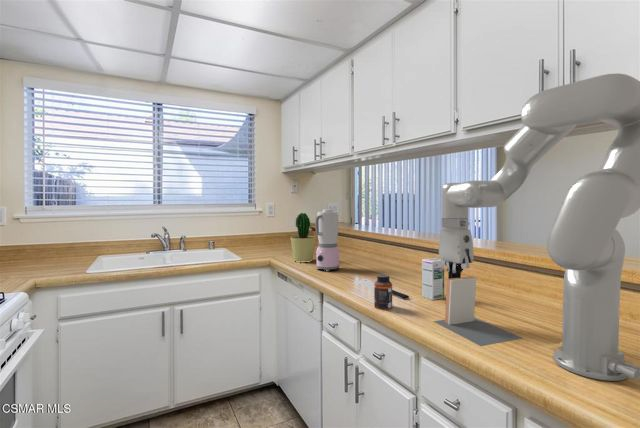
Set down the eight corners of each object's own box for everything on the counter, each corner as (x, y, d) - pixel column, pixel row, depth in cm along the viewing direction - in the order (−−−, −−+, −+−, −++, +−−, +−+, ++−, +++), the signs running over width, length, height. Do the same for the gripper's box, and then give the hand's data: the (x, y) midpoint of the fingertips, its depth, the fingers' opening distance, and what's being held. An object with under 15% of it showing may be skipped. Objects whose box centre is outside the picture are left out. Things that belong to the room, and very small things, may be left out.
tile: (473, 320, 99) (476, 278, 98) (449, 324, 96) (451, 280, 95) (469, 318, 101) (471, 276, 100) (444, 322, 98) (447, 278, 97)
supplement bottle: (395, 310, 111) (395, 276, 110) (378, 312, 109) (378, 277, 109) (387, 305, 116) (387, 273, 116) (371, 306, 115) (371, 274, 115)
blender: (326, 266, 187) (326, 209, 186) (344, 269, 179) (343, 209, 178) (307, 270, 175) (307, 209, 174) (325, 273, 167) (325, 210, 166)
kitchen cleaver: (347, 281, 148) (366, 277, 153) (347, 285, 149) (366, 280, 153) (390, 300, 120) (412, 294, 124) (391, 305, 120) (413, 298, 125)
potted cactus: (317, 259, 210) (316, 211, 209) (314, 263, 195) (314, 212, 194) (293, 258, 212) (292, 211, 211) (288, 263, 196) (288, 212, 195)
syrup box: (432, 300, 122) (433, 261, 121) (421, 296, 127) (421, 258, 126) (444, 298, 124) (444, 259, 123) (432, 294, 129) (433, 257, 129)
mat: (523, 340, 87) (523, 338, 87) (480, 348, 82) (480, 345, 82) (470, 317, 104) (470, 315, 104) (433, 323, 99) (433, 321, 99)
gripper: (484, 225, 94) (483, 290, 94) (447, 222, 108) (447, 279, 109) (462, 226, 91) (462, 292, 92) (428, 223, 106) (428, 281, 106)
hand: (454, 285), depth 100 cm, fingers closed
